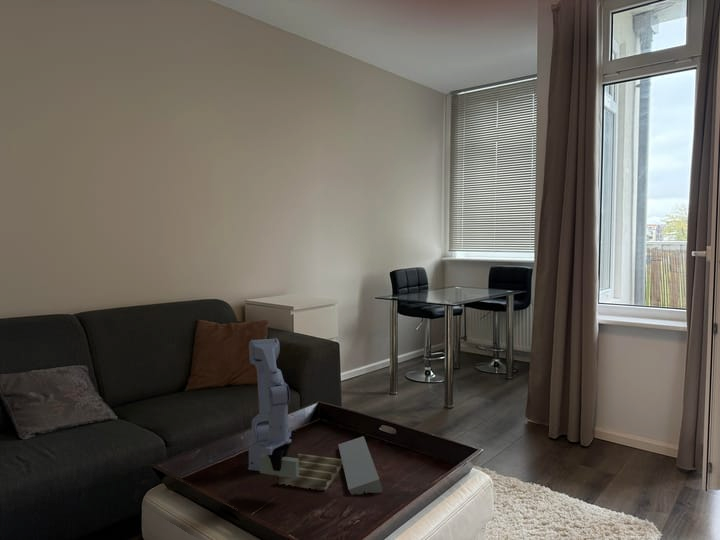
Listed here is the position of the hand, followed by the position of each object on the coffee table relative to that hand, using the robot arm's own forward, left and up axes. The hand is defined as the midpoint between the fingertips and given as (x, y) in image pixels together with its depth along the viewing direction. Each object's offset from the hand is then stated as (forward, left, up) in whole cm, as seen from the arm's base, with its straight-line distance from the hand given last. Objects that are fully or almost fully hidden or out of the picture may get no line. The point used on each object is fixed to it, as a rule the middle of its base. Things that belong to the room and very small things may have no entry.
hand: (278, 468), depth 154 cm
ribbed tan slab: (+5, +14, -8) cm, 17 cm away
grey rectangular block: (+19, +24, -9) cm, 31 cm away
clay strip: (0, 0, -2) cm, 2 cm away
